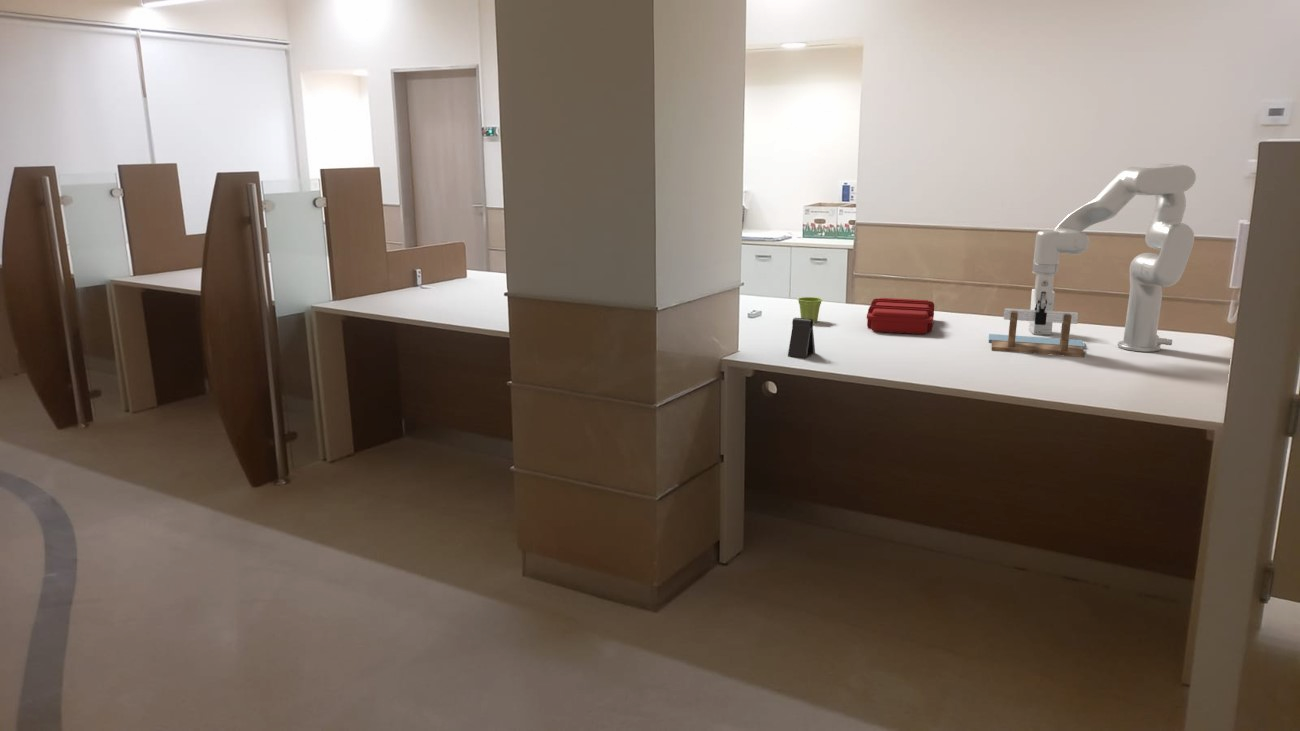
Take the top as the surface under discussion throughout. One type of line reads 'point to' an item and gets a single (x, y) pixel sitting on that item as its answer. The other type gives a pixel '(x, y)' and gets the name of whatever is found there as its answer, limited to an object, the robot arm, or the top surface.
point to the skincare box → (1047, 327)
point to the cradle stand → (1039, 348)
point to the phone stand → (801, 338)
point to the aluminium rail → (1031, 314)
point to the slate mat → (1035, 340)
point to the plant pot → (809, 307)
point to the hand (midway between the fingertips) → (1039, 321)
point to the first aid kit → (901, 315)
